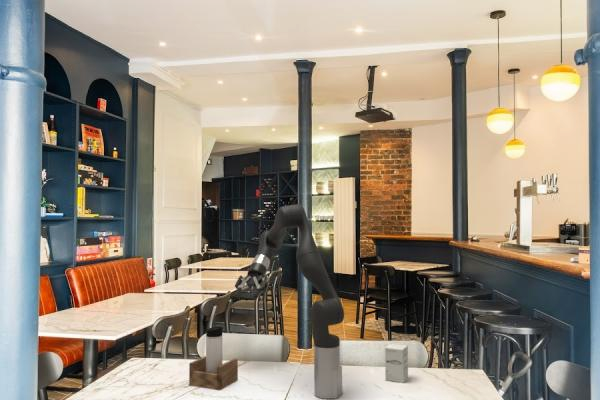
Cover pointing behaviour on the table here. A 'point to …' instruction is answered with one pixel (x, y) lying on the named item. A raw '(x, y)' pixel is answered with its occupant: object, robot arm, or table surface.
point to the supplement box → (396, 363)
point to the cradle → (218, 381)
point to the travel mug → (213, 349)
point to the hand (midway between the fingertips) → (245, 297)
